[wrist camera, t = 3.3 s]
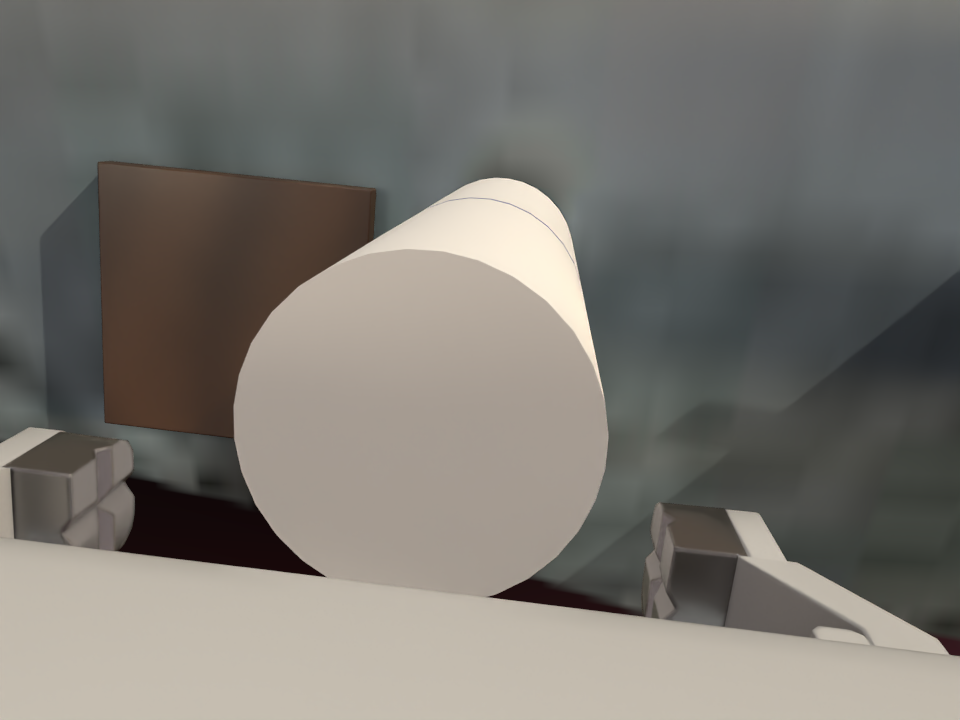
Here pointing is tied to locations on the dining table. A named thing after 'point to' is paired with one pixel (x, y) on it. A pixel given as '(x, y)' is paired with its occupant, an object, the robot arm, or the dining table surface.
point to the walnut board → (205, 280)
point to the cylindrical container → (431, 401)
